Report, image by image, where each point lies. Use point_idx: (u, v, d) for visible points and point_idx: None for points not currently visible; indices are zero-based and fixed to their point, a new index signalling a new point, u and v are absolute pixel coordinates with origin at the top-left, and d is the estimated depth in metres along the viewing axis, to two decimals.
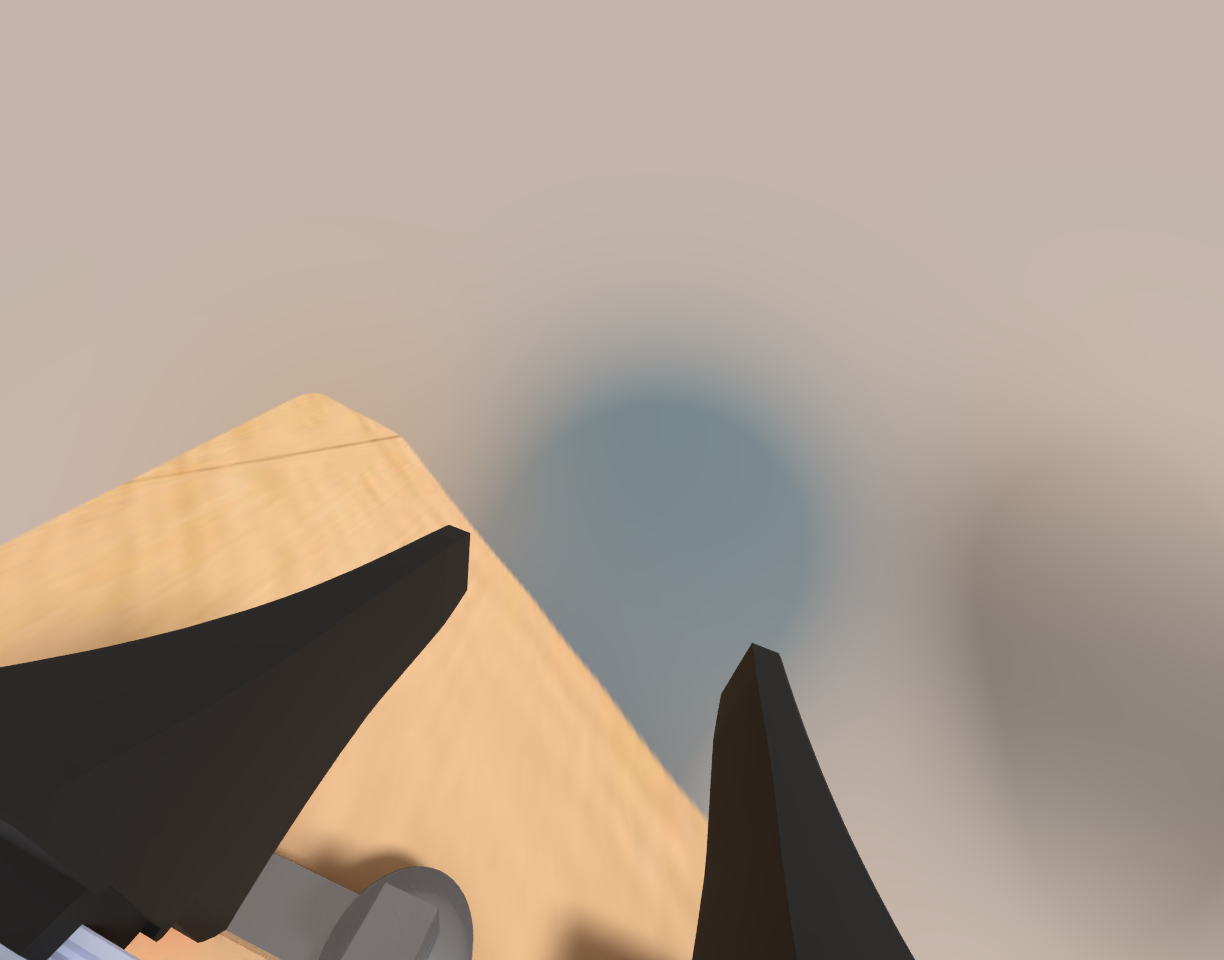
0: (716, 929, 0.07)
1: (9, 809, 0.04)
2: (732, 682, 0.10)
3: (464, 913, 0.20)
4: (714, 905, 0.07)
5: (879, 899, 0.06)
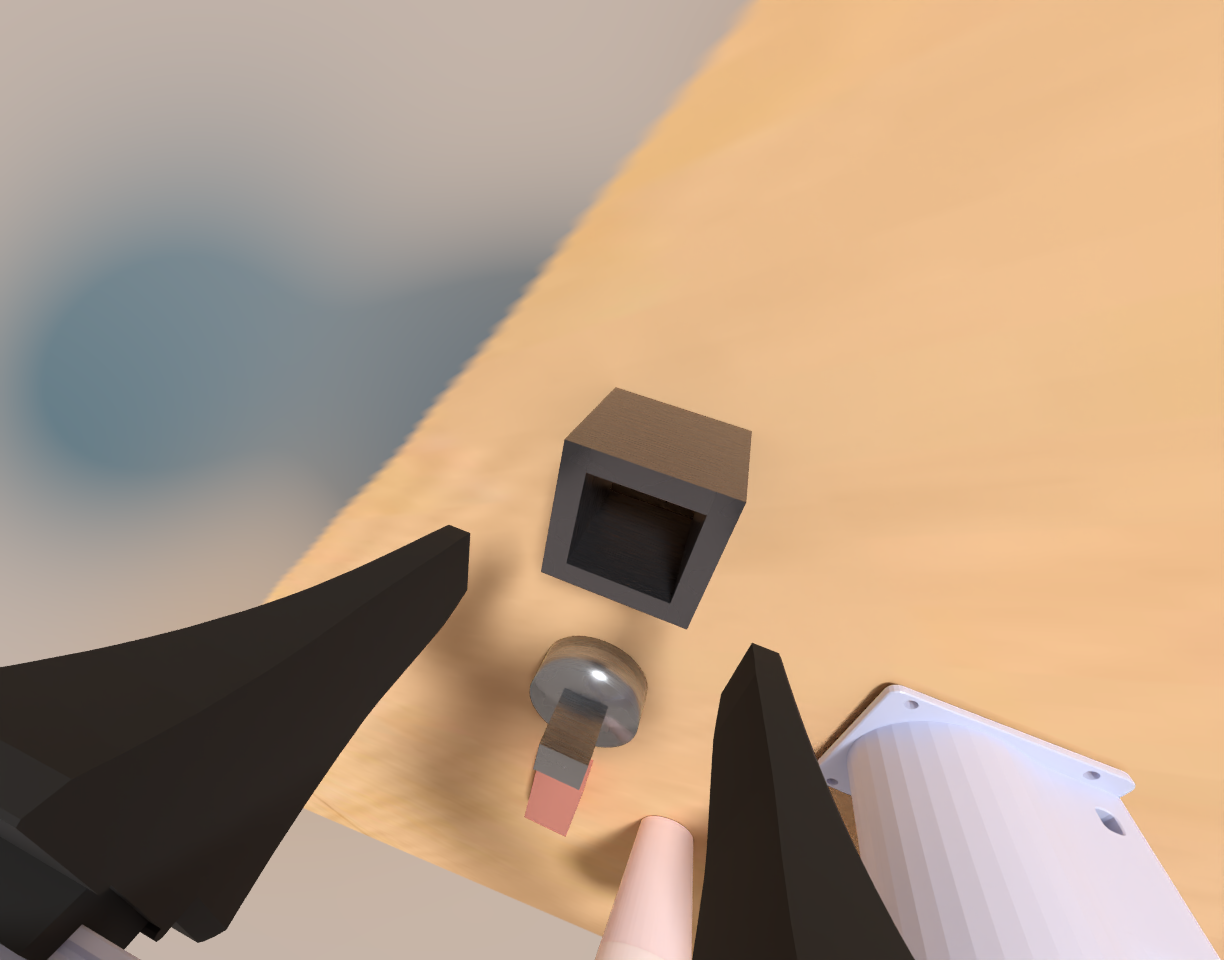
0: (716, 929, 0.07)
1: (10, 809, 0.04)
2: (732, 682, 0.10)
3: (551, 673, 0.23)
4: (714, 905, 0.07)
5: (879, 899, 0.06)
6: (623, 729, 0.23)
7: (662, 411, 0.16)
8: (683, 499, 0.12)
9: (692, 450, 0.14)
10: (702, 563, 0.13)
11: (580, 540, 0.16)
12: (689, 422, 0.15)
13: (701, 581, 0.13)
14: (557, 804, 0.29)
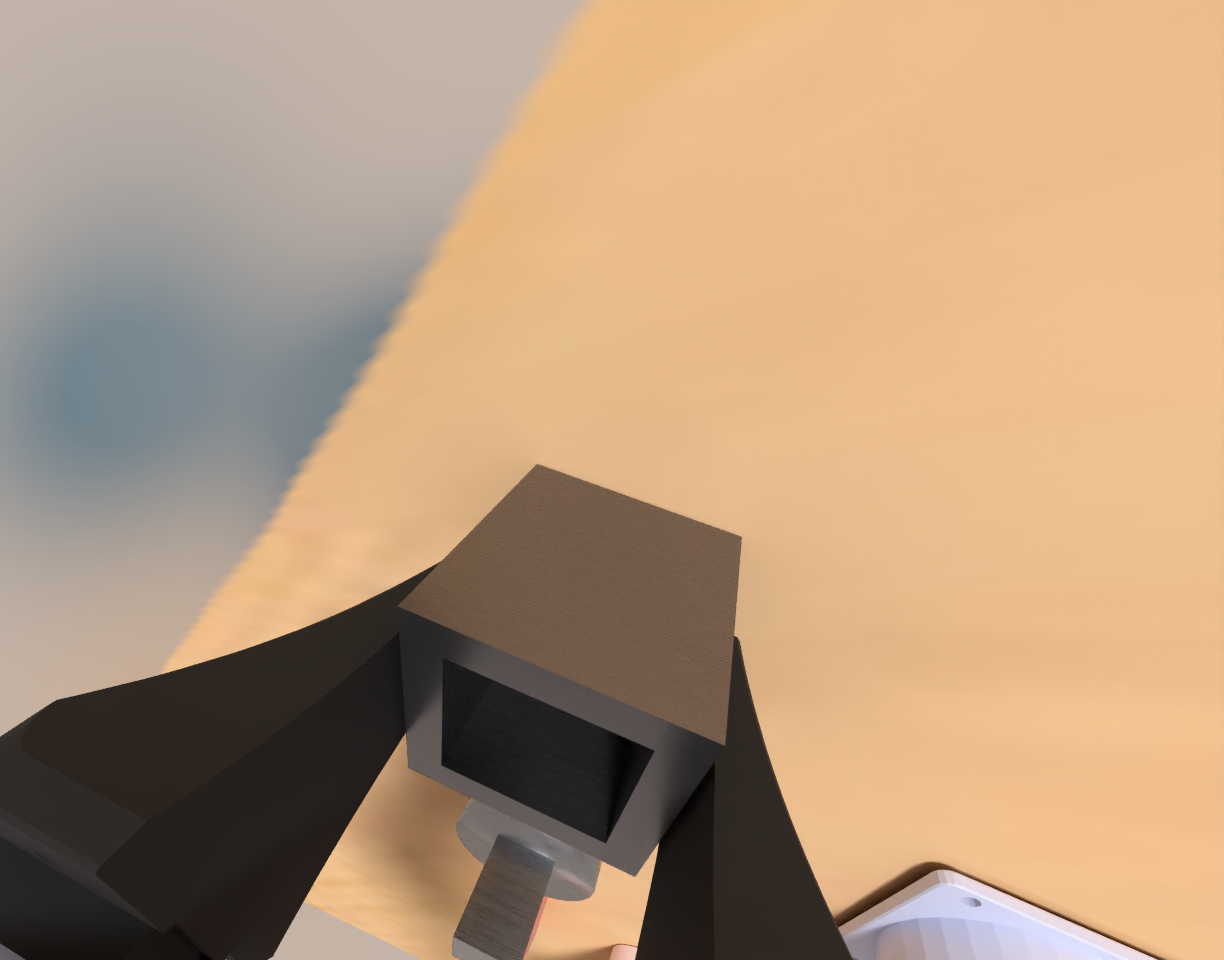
0: (660, 902, 0.07)
1: (89, 853, 0.04)
2: None
3: (479, 817, 0.17)
4: (661, 879, 0.08)
5: (807, 866, 0.06)
6: (576, 886, 0.17)
7: (602, 508, 0.10)
8: (611, 721, 0.07)
9: (637, 601, 0.08)
10: (652, 809, 0.07)
11: (475, 709, 0.10)
12: (643, 529, 0.10)
13: (653, 829, 0.08)
14: None
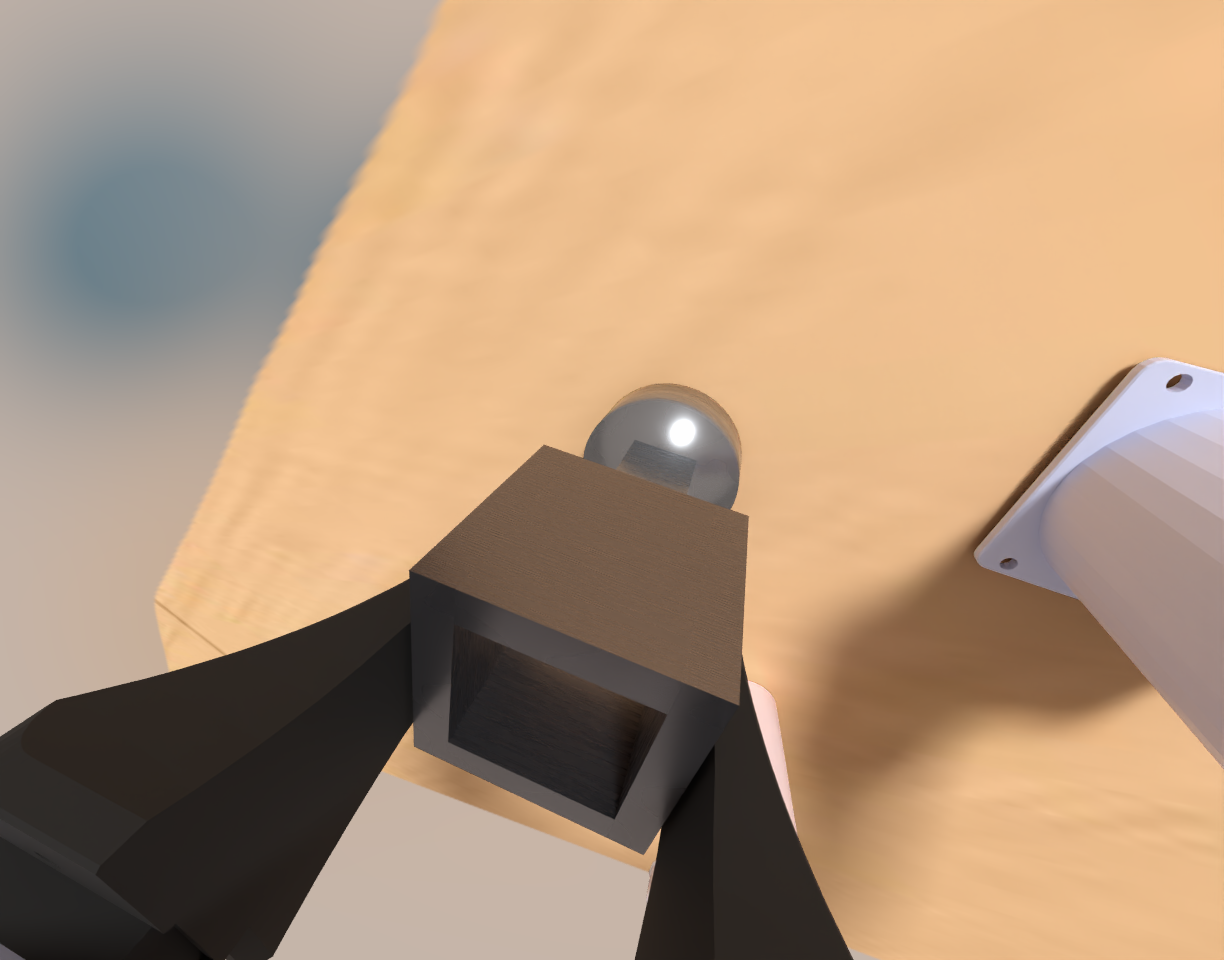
0: (660, 902, 0.07)
1: (88, 854, 0.04)
2: None
3: (617, 416, 0.16)
4: (661, 879, 0.08)
5: (807, 866, 0.06)
6: (715, 499, 0.17)
7: (610, 487, 0.10)
8: (623, 685, 0.07)
9: (647, 572, 0.08)
10: (663, 778, 0.07)
11: (482, 688, 0.10)
12: (651, 506, 0.10)
13: (663, 801, 0.08)
14: None
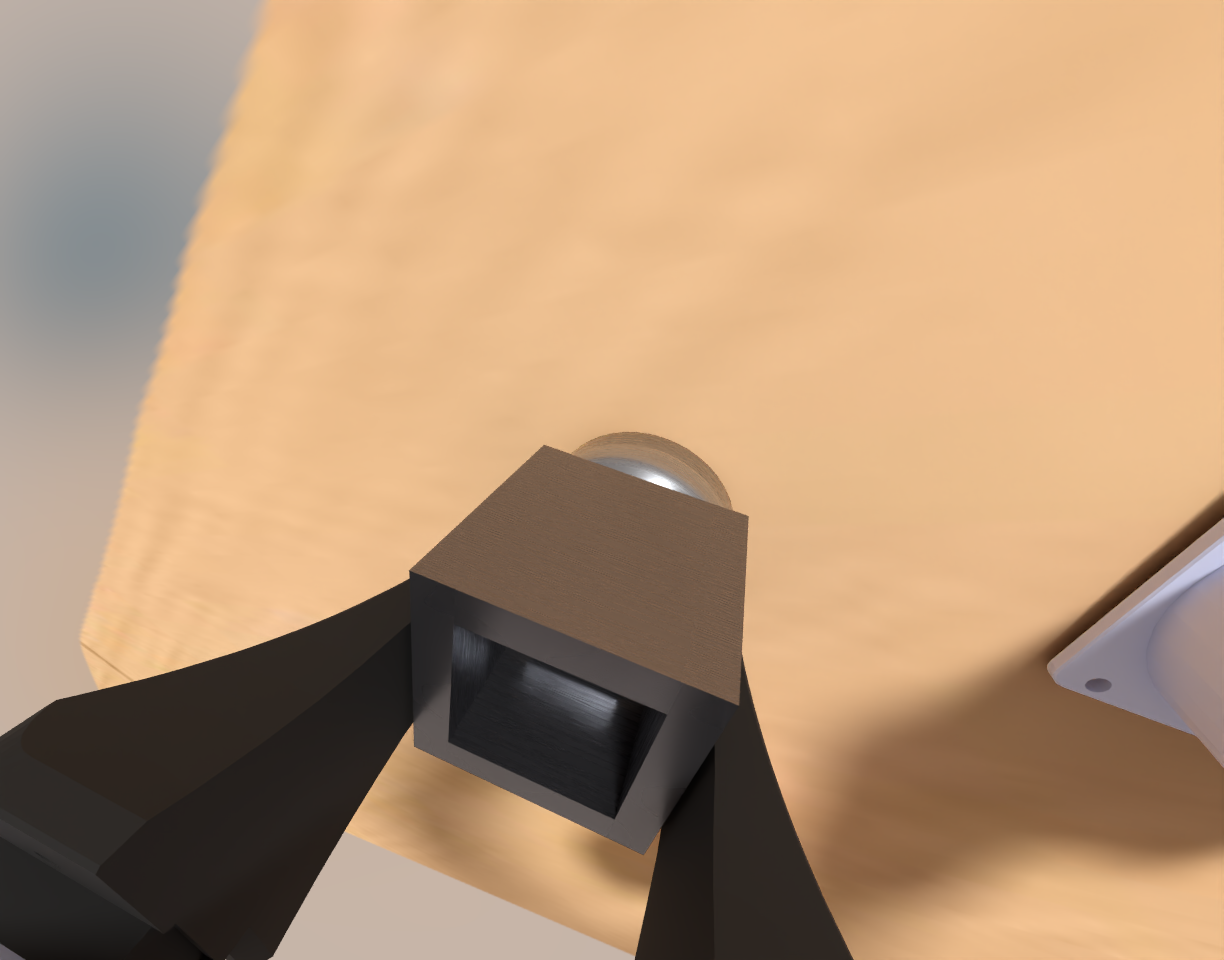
0: (660, 902, 0.07)
1: (88, 854, 0.04)
2: None
3: None
4: (661, 880, 0.08)
5: (807, 866, 0.06)
6: None
7: (610, 487, 0.10)
8: (623, 685, 0.07)
9: (647, 572, 0.08)
10: (663, 778, 0.07)
11: (482, 688, 0.10)
12: (651, 506, 0.10)
13: (663, 801, 0.08)
14: None
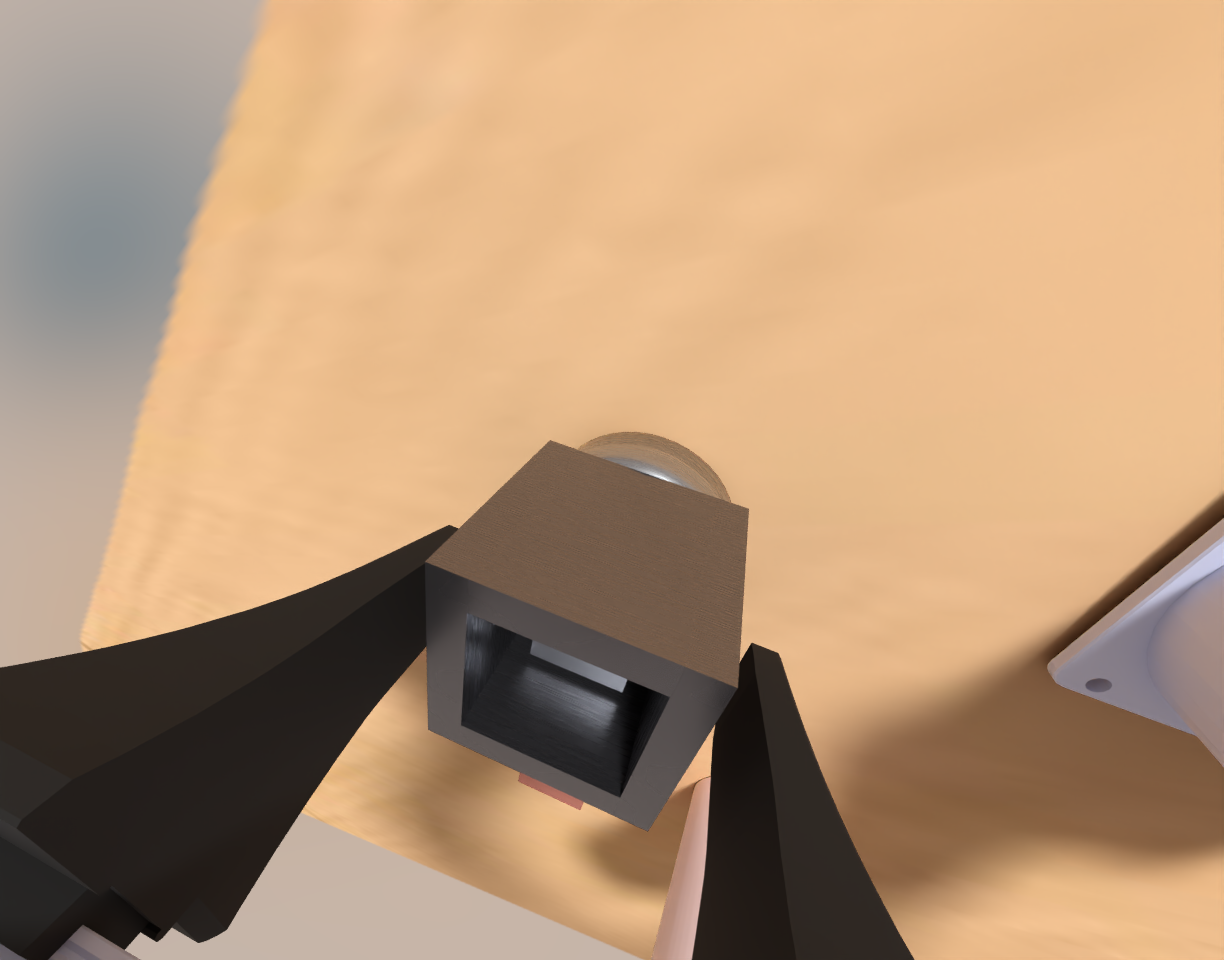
0: (716, 929, 0.07)
1: (10, 809, 0.04)
2: None
3: None
4: (714, 905, 0.07)
5: (878, 899, 0.06)
6: None
7: (614, 481, 0.10)
8: (628, 669, 0.07)
9: (651, 563, 0.08)
10: (666, 757, 0.08)
11: (492, 675, 0.10)
12: (654, 500, 0.10)
13: (666, 780, 0.08)
14: None
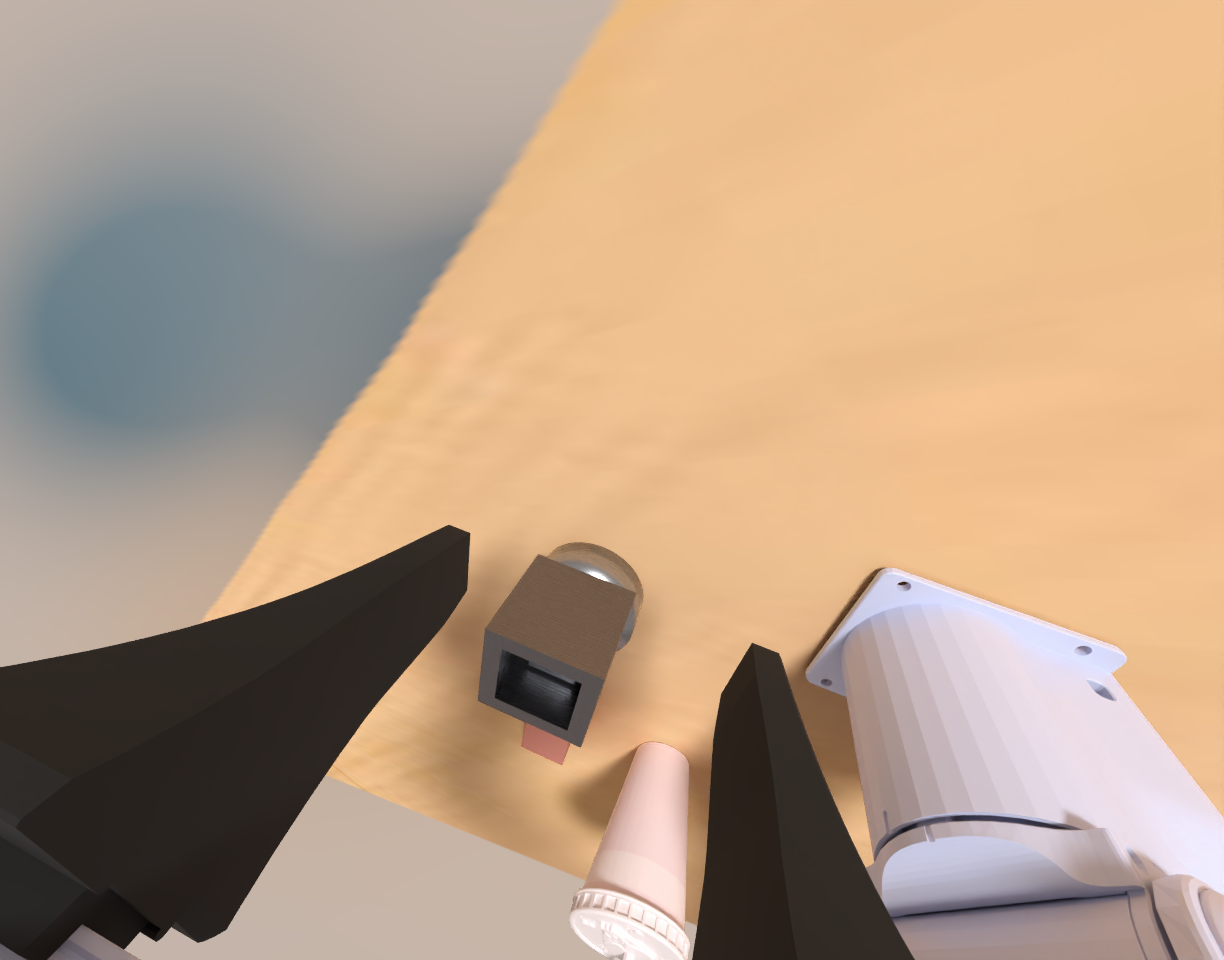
0: (716, 929, 0.07)
1: (10, 809, 0.04)
2: (732, 682, 0.10)
3: None
4: (714, 905, 0.07)
5: (879, 899, 0.06)
6: None
7: (569, 579, 0.21)
8: (565, 672, 0.18)
9: (580, 626, 0.19)
10: (584, 710, 0.19)
11: (508, 674, 0.21)
12: (587, 590, 0.21)
13: (585, 720, 0.19)
14: None
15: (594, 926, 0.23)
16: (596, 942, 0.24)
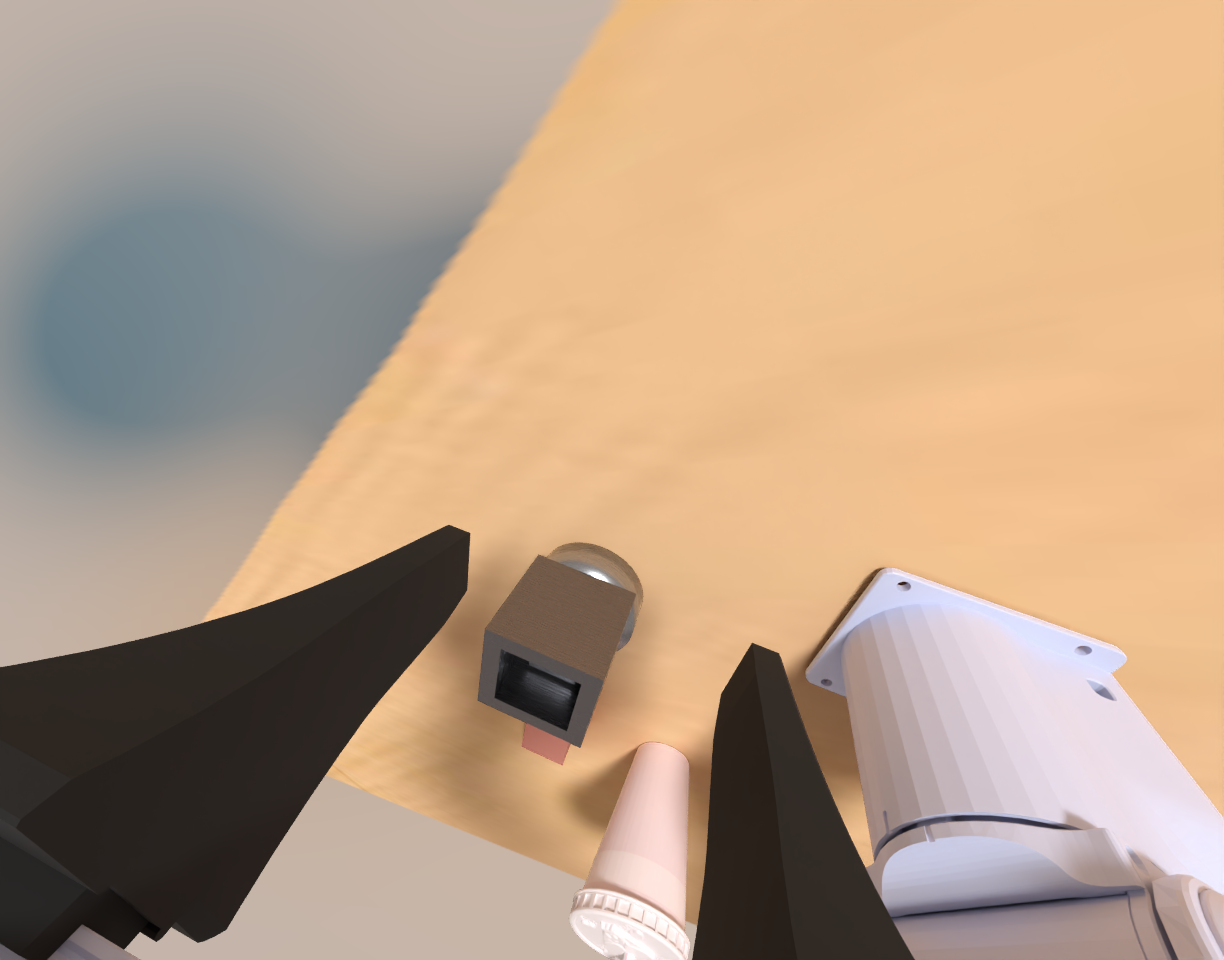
0: (716, 929, 0.07)
1: (10, 808, 0.04)
2: (732, 682, 0.10)
3: None
4: (714, 905, 0.07)
5: (879, 899, 0.06)
6: None
7: (569, 580, 0.21)
8: (565, 673, 0.18)
9: (579, 626, 0.19)
10: (583, 710, 0.19)
11: (508, 674, 0.21)
12: (587, 591, 0.21)
13: (584, 720, 0.19)
14: None
15: (594, 926, 0.23)
16: (596, 942, 0.24)
